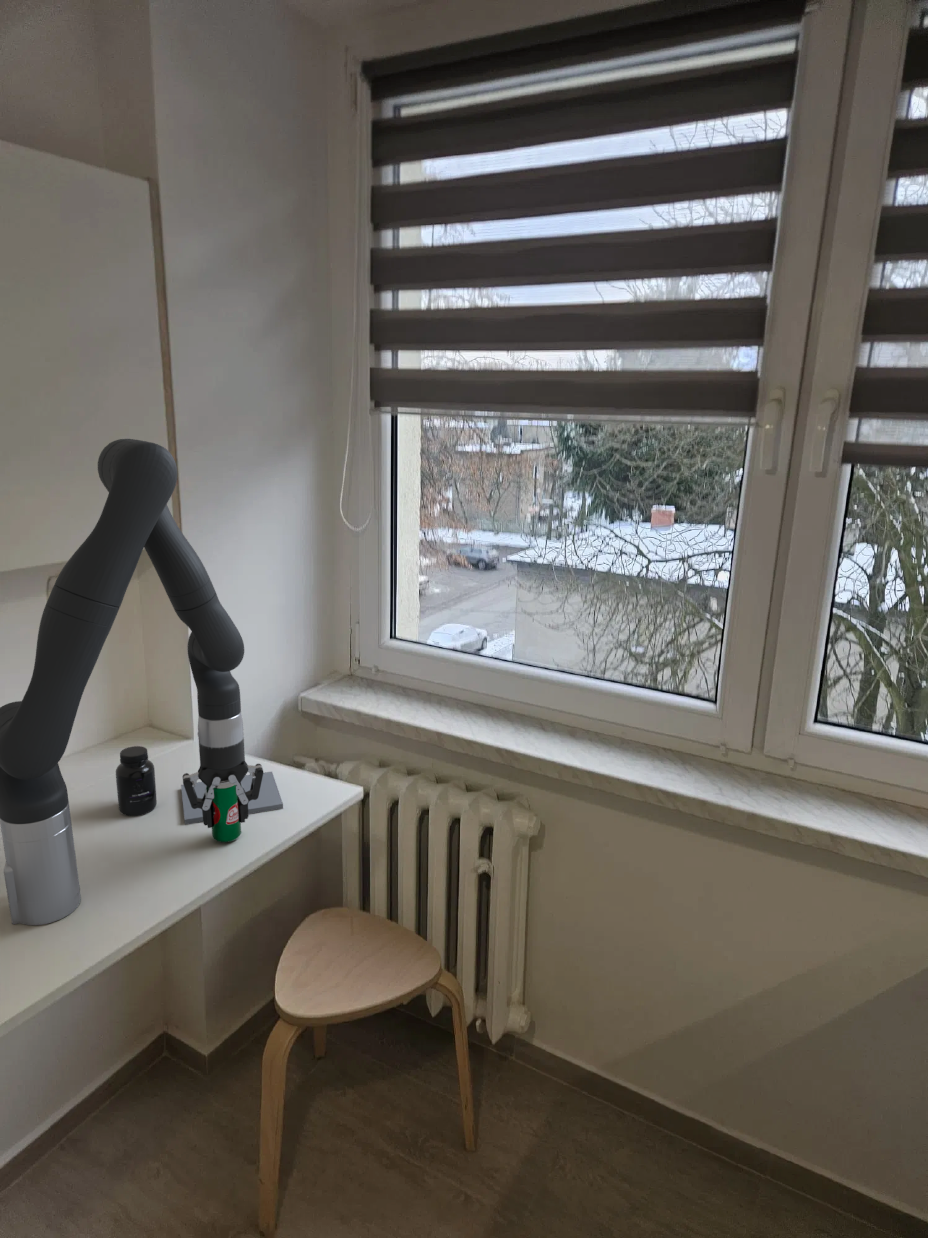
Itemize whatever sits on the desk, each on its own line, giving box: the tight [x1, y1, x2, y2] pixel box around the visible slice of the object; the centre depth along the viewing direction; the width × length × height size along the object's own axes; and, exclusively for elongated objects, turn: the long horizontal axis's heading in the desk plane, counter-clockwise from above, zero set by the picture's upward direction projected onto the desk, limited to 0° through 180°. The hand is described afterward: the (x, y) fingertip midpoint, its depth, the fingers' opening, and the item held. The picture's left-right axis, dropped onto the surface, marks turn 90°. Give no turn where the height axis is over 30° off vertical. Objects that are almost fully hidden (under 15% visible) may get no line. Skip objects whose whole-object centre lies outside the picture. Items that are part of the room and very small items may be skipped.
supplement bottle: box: [115, 745, 158, 817], centre depth 148 cm, size 7×7×12 cm
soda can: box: [210, 780, 242, 844], centre depth 140 cm, size 5×5×12 cm
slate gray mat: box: [180, 771, 284, 825], centre depth 154 cm, size 18×14×1 cm
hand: (226, 822), depth 140 cm, fingers closed on soda can, 5 cm apart
